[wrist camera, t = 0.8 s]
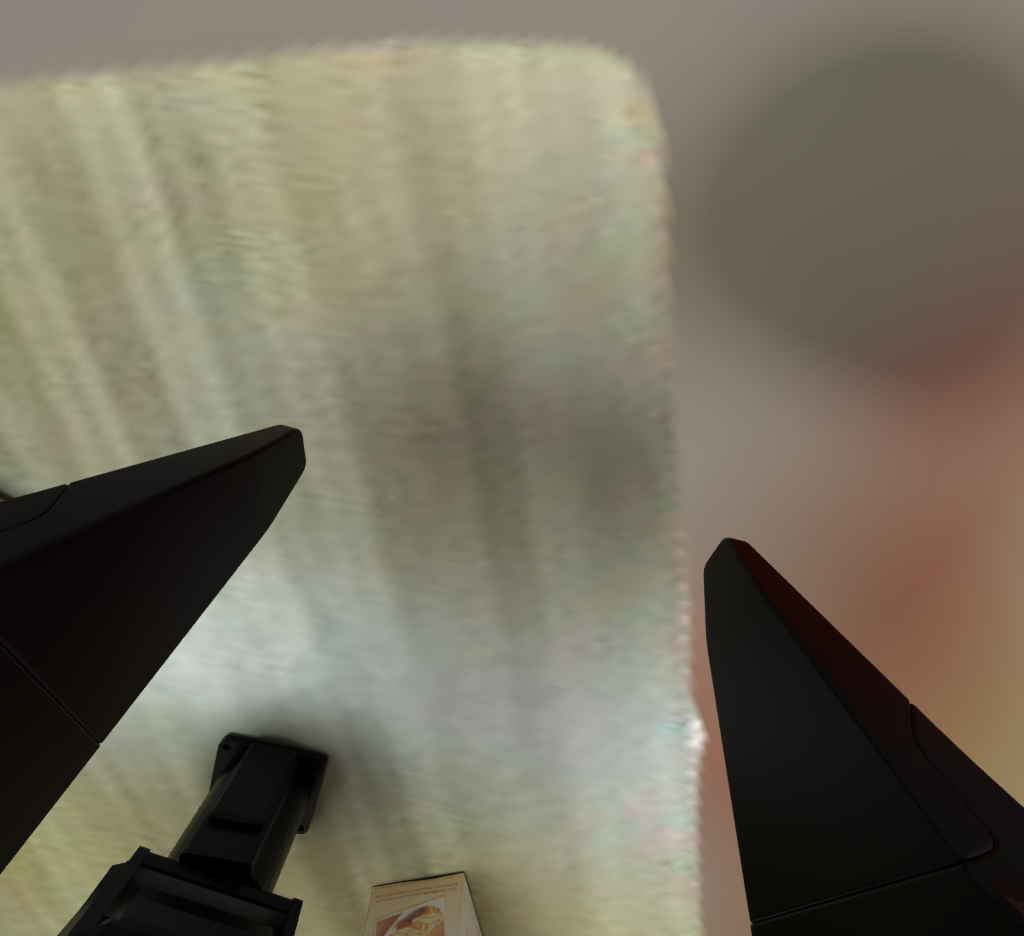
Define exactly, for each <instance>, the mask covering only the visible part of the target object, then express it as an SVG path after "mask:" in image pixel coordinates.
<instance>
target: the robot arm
mask: <svg viewBox="0 0 1024 936" xmlns="http://www.w3.org/2000/svg"><path fill="white" fill-rule="evenodd" d="M305 465H306V458H305V450H304V443H303V436H302V433H301V431H300V430H299V429H297V428H293V427H289V426H285V425H276V426H272V427H269V428H265V429H262V430H258V431H254V432H251V433H247V434H244V435H240V436H237V437H233V438H229V439H226V440H222V441H219V442H215V443H211V444H208V445H204V446H201V447H197V448H193V449H190V450H186V451H183V452H179V453H175V454H172V455H168V456H165V457H161V458H158V459H154V460H150V461H147V462H143V463H140V464H136V465H132V466H129V467H125V468H122V469H118V470H114V471H111V472H107V473H104V474H100V475H96V476H93V477H89V478H86V479H82V480H79V481H75V482H72V483H70V484H69V485H66V484H64V485H60V486H57V487H53V488H49V489H46V490H42V491H39V492H35V493H31V494H28V495H24V496H20V497H16V498H13V499H9V500H5V501H1V502H0V874H1V873H2V872H3V870H4V869H5V868H6V866H7V865H8V864H9V863H10V861H11V860H12V859H13V857H14V856H15V855H16V854H17V852H18V851H19V850H20V848H21V847H22V846H23V845H24V843H25V842H26V841H27V839H28V838H29V837H30V836H31V834H32V833H33V832H34V830H35V829H36V828H37V827H38V825H39V824H40V823H41V821H42V820H43V819H44V818H45V816H46V815H47V814H48V812H49V811H50V810H51V809H52V807H53V806H54V805H55V803H56V802H57V801H58V800H59V798H60V797H61V796H62V794H63V793H64V792H65V791H66V789H67V788H68V787H69V785H70V784H71V783H72V782H73V780H74V779H75V778H76V776H77V775H78V774H79V773H80V771H81V770H82V769H83V767H84V766H85V765H86V764H87V762H88V761H89V760H90V758H91V757H92V756H93V755H94V753H95V752H96V751H97V749H98V748H99V747H100V744H99V743H102V742H103V741H104V740H105V738H106V737H107V736H108V735H109V733H110V732H111V731H112V729H113V728H114V727H115V726H116V724H117V723H118V722H119V720H120V719H121V718H122V717H123V715H124V714H125V713H126V711H127V710H128V709H129V708H130V706H131V705H132V704H133V702H134V701H135V700H136V699H137V697H138V696H139V695H140V693H141V692H142V691H143V690H144V688H145V687H146V686H147V684H148V683H149V682H150V681H151V679H152V678H153V677H154V675H155V674H156V673H157V672H158V670H159V669H160V668H161V666H162V665H163V664H164V663H165V661H166V660H167V659H168V657H169V656H170V655H171V654H172V652H173V651H174V650H175V648H176V647H177V646H178V645H179V643H180V642H181V641H182V639H183V638H184V637H185V635H186V634H187V633H188V632H189V630H190V629H191V628H192V626H193V625H194V624H195V623H196V621H197V620H198V619H199V617H200V616H201V615H202V614H203V612H204V611H205V610H206V608H207V607H208V606H209V605H210V603H211V602H212V601H213V599H214V598H215V597H216V596H217V594H218V593H219V592H220V590H221V589H222V588H223V587H224V585H225V584H226V583H227V581H228V580H229V579H230V578H231V576H232V575H233V574H234V572H235V571H236V570H237V569H238V567H239V566H240V565H241V563H242V562H243V561H244V560H245V558H246V557H247V556H248V554H249V553H250V552H251V551H252V549H253V548H254V547H255V545H256V544H257V543H258V542H259V540H260V539H261V538H262V536H263V535H264V534H265V532H266V531H267V530H268V528H269V527H270V525H271V524H272V522H273V521H274V519H275V517H276V516H277V514H278V512H279V511H280V509H281V508H282V506H283V504H284V503H285V501H286V499H287V498H288V496H289V494H290V493H291V491H292V490H293V488H294V486H295V485H296V483H297V481H298V480H299V478H300V476H301V475H302V473H303V471H304V469H305ZM704 597H705V623H706V639H707V648H708V656H709V662H710V667H711V675H712V681H713V688H714V694H715V700H716V707H717V713H718V720H719V726H720V732H721V738H722V744H723V751H724V758H725V764H726V771H727V776H728V783H729V789H730V796H731V802H732V809H733V815H734V822H735V828H736V834H737V840H738V847H739V853H740V860H741V866H742V873H743V878H744V886H745V891H746V898H747V905H748V911H749V917H750V921H751V923H752V924H751V932H752V936H1024V807H1023V806H1021V805H1020V804H1019V803H1018V802H1017V801H1016V800H1015V799H1014V798H1013V797H1012V796H1010V795H1009V794H1008V793H1007V792H1006V791H1005V790H1004V789H1003V788H1002V787H1001V786H999V785H998V784H997V783H996V782H995V781H994V780H993V779H992V778H991V777H990V776H988V775H987V774H986V773H985V772H984V771H983V770H982V769H981V768H980V767H979V766H977V765H976V764H975V763H974V762H973V761H972V760H971V759H970V758H969V757H968V756H967V755H966V754H965V753H964V752H963V751H961V750H960V749H959V748H958V747H957V746H956V745H955V744H954V743H953V742H952V741H951V740H950V739H949V738H948V737H947V736H946V735H945V734H944V733H943V732H942V731H940V730H939V729H938V728H937V727H936V726H935V725H934V724H933V723H932V722H931V721H930V720H929V719H928V718H927V717H926V716H925V715H924V714H923V713H922V712H921V711H920V710H919V709H918V708H917V707H916V706H915V705H913V704H910V703H909V700H908V699H907V698H906V697H905V696H904V695H903V694H902V693H901V692H900V691H899V690H898V689H897V688H896V687H895V686H894V685H893V684H892V683H891V682H890V681H889V680H888V679H887V678H886V677H885V676H884V675H883V674H882V673H881V672H880V671H879V670H878V669H877V668H876V667H875V666H874V665H873V664H872V663H871V662H870V661H868V659H867V658H866V657H864V656H863V655H862V654H861V653H860V652H859V651H858V650H857V649H856V648H855V647H854V646H853V645H852V644H851V643H850V642H849V641H848V640H847V639H846V638H845V637H844V636H843V635H842V634H841V633H840V632H839V631H838V630H837V629H836V628H835V627H834V626H833V625H831V623H830V622H829V621H827V620H826V619H825V618H824V617H823V616H822V615H821V614H820V613H819V612H818V611H817V610H816V609H815V608H814V607H813V606H812V605H811V604H810V603H809V602H808V601H807V600H806V599H805V598H804V597H803V596H802V595H801V594H800V593H799V592H798V591H797V590H796V589H795V588H794V587H793V586H792V585H791V584H790V583H788V581H787V580H786V579H784V578H783V577H782V576H781V575H780V574H779V573H778V572H777V571H776V570H775V569H774V568H773V567H772V566H771V565H770V564H769V563H768V562H767V561H766V560H765V559H764V558H763V557H762V556H761V555H760V554H759V553H758V552H757V551H756V550H755V549H754V548H753V547H752V546H751V545H750V544H749V543H747V542H745V541H741V540H737V539H733V538H725V539H723V540H722V541H721V542H720V544H719V545H718V547H717V548H716V550H715V551H714V552H713V554H712V555H711V557H710V558H709V560H708V561H707V563H706V565H705V568H704ZM327 764H328V758H327V756H326V755H324V754H320V753H315V752H310V751H306V750H301V749H296V748H291V747H286V746H281V745H276V744H272V743H267V742H262V741H257V740H252V739H247V738H242V737H238V736H233V735H228V736H225V737H224V738H223V739H222V741H221V742H220V744H219V746H218V751H217V756H216V761H215V766H214V771H213V776H212V781H211V786H210V791H209V793H208V795H207V796H206V798H205V800H204V801H203V803H202V804H201V806H200V807H199V809H198V811H197V812H196V814H195V815H194V817H193V818H192V820H191V822H190V823H189V825H188V826H187V828H186V829H185V831H184V832H183V834H182V836H181V837H180V839H179V840H178V842H177V843H176V845H175V847H174V848H173V850H172V851H171V853H170V854H169V856H168V858H167V857H164V856H161V855H158V854H155V853H152V852H150V850H151V849H148V848H145V847H142V846H140V847H139V848H138V849H137V851H136V852H135V853H134V855H133V856H132V857H131V859H130V860H129V861H127V862H126V863H121V864H117V865H112V867H111V868H110V869H109V871H108V872H107V873H106V875H105V876H104V878H103V879H102V880H101V882H100V883H99V884H98V886H97V887H96V888H95V890H94V891H93V892H92V894H91V895H90V896H89V898H88V899H87V901H86V902H85V903H84V904H83V906H82V907H81V908H80V909H79V911H78V912H77V913H76V914H75V916H74V917H73V918H72V919H71V920H70V921H69V923H68V924H67V925H66V926H65V927H64V928H63V930H62V931H61V932H60V933H59V934H58V935H57V936H294V934H295V930H296V927H297V923H298V919H299V915H300V911H301V908H302V904H303V901H302V900H299V899H296V898H293V899H292V900H291V899H288V898H285V897H283V896H280V895H277V894H274V893H273V890H274V888H275V885H276V883H277V880H278V878H279V875H280V873H281V870H282V868H283V865H284V863H285V860H286V858H287V855H288V853H289V850H290V848H291V845H292V843H293V840H294V838H295V836H296V833H297V834H304V833H306V832H307V831H308V829H309V827H310V824H311V821H312V817H313V814H314V810H315V806H316V803H317V799H318V796H319V792H320V789H321V785H322V782H323V778H324V775H325V771H326V768H327Z"/></svg>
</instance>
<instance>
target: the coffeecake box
mask: <svg viewBox="0 0 1024 936" xmlns="http://www.w3.org/2000/svg"><path fill="white" fill-rule="evenodd" d="M363 936H482V934H481V931H480V927H479V924H478V920H477V917H476V913H475V909H474V906H473V903H472V899H471V896H470V892H469V889H468V885H467V882H466V878H465V875H464V874H463V873H459V874H455V875H449V876H444V877H439V878H435V879H426V880H420V881H411V882H401V883H395V884H390V885H385V886H379V887H373V888H372V890H371V899H370V904H369V908H368V913H367V917H366V922H365V927H364V931H363Z"/></svg>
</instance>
